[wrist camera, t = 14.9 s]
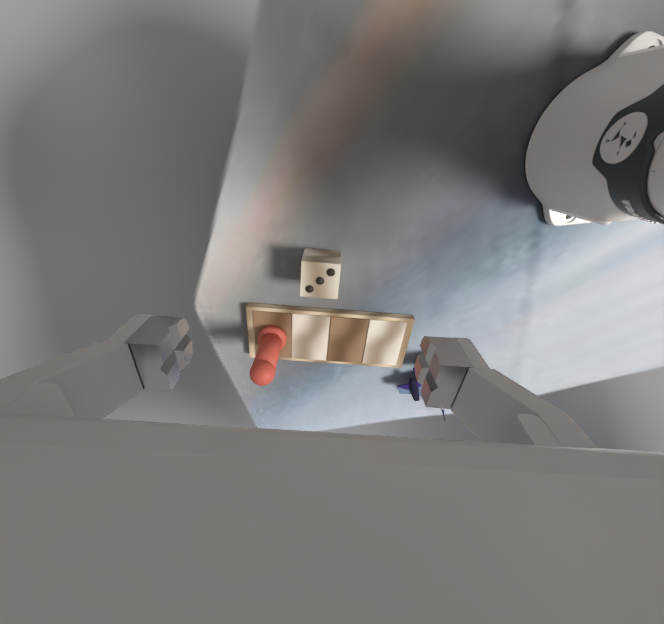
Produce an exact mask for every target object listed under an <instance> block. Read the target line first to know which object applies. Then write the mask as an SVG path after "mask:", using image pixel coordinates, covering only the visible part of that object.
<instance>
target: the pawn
mask: <svg viewBox="0 0 664 624" xmlns="http://www.w3.org/2000/svg"><path fill="white" fill-rule="evenodd" d="M286 339H287V336H286V333H285V331H284V330H283V329H282V328H280V327H278V326H275V325H268V326H265V327H263V328H262V329H261V330H260V332H259V335H258V339H257V340H258V344H259V347H258V350H257V353H256V356H255V359H254V362H253V365H252V367H251V369H250V378H251V380H252V381H253V382H254V383H255V384H257V385H267V384H269V383H270V382H271V381H272V380H273V379H274V377H275V369H276V365H277V361H278V357H279V352H280V350H281V349H283V348H284V346H285V344H286Z"/></svg>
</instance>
